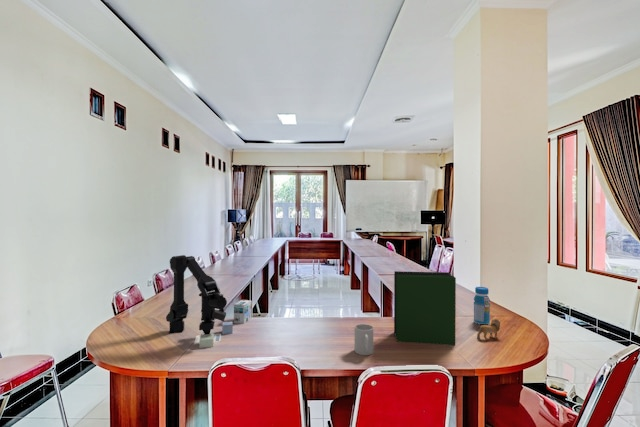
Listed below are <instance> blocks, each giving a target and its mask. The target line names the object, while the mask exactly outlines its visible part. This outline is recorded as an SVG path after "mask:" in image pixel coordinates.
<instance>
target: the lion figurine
mask: <svg viewBox="0 0 640 427" xmlns="http://www.w3.org/2000/svg"><path fill="white" fill-rule="evenodd" d="M500 328H501V321H500V320H499V319H498V318H492V319H491V323H490V324H488V325H480V326H479V328H478V329H479V331H478V333H477V335H476V339H477V340H480V339H481V337H480V336H481V334H482V333H483V337H484V339H485V340H486V341H489V338H488V337H487V334H489V337H490V338H493V333H494V338H495V339H496V338H498V332H499V331H500Z"/></svg>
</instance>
